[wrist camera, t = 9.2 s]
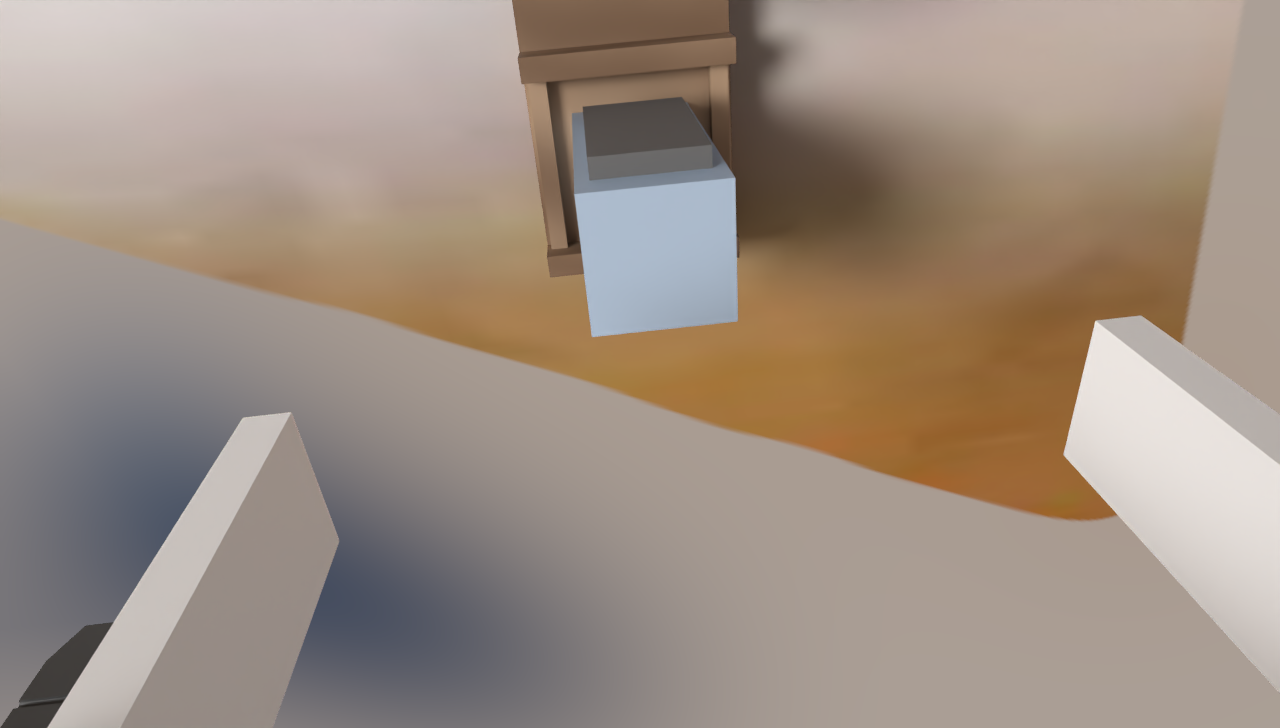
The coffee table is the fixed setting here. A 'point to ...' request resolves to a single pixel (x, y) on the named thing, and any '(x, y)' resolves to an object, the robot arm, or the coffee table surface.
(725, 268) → the block
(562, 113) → the brown boxy frame piece
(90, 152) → the coffee table surface
